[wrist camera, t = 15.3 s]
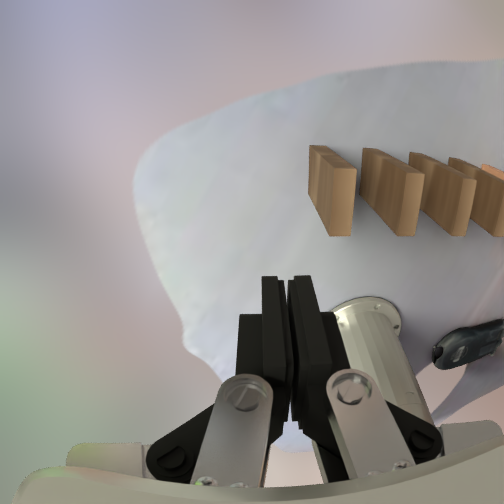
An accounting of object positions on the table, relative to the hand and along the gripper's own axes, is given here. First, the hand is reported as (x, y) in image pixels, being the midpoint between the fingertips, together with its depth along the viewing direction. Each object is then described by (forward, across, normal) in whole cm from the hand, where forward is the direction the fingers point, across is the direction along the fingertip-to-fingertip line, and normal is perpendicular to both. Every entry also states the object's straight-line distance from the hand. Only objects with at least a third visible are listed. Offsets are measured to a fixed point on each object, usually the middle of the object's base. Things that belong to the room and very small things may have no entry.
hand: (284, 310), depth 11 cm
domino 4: (+21, -22, 0) cm, 30 cm away
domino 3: (+21, -16, 0) cm, 26 cm away
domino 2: (+21, -10, 0) cm, 24 cm away
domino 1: (+21, -5, 0) cm, 22 cm away
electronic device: (+22, -35, +28) cm, 50 cm away
